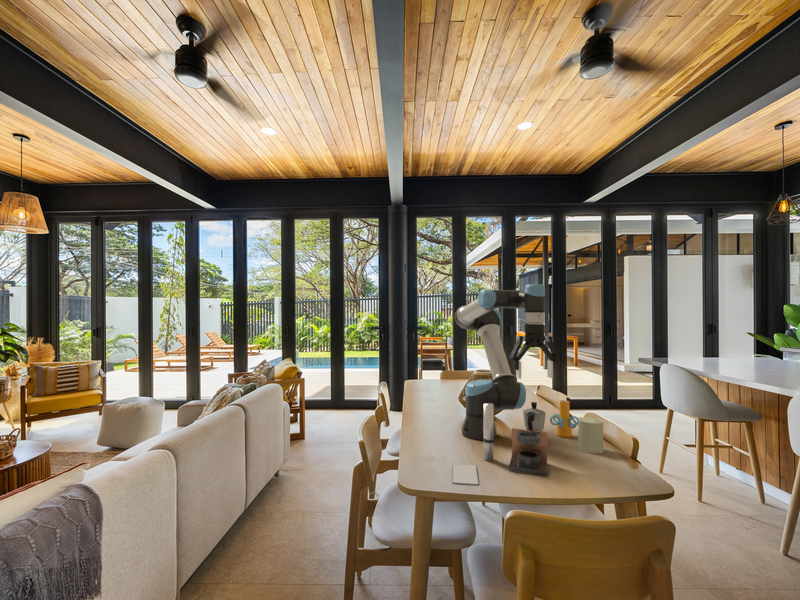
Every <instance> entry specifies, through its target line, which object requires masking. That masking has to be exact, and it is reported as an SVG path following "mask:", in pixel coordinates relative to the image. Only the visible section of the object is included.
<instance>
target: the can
mask: <svg viewBox="0 0 800 600" xmlns="http://www.w3.org/2000/svg"><path fill="white" fill-rule="evenodd" d="M577 418H578V425H577V428H578V429H577V434H578V435H577V437H578V439H577V440H578V441H577V442H578V443H577V449H578V450H579V451H581V452H583V453H584V452H585V453H588V454H593V455H595V454H598V453H600V454H603V453H604V452H605V451H604V450H605V449H604V420H602V419H600V418H596V417H591V416H589V417H588V416H582V417H581V416H580V417H577Z"/></svg>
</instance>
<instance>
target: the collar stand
mask: <svg viewBox="0 0 800 600" xmlns="http://www.w3.org/2000/svg"><path fill="white" fill-rule="evenodd" d="M508 472H514V473H520V474H527V475H528V474H529V475H535V476H542V477H548V432H547V431H543V432H541V431H532V430H526V429H523V428H522V429H521V428H511V458H510V462H509V466H508Z"/></svg>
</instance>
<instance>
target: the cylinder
mask: <svg viewBox="0 0 800 600" xmlns="http://www.w3.org/2000/svg"><path fill="white" fill-rule="evenodd" d="M558 405H559V407H558V409H559V411H558V412H559V413H554V414H553V415H552V416H551V417H550V418H549V422H550V424H552V425H553V426H556V435H557V436H559V437H560V438H567V439H568V438H569V439H570V438H572V437H573V429H575V428H576V427H578V418H579V417H577V416H576V415H575V416H574V415H573V416H570V401H569V400H566V399H565V400H564V399H563V400H559V404H558ZM556 419H557V420H556ZM553 421H554V422H553ZM572 421H573V423H572Z"/></svg>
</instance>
